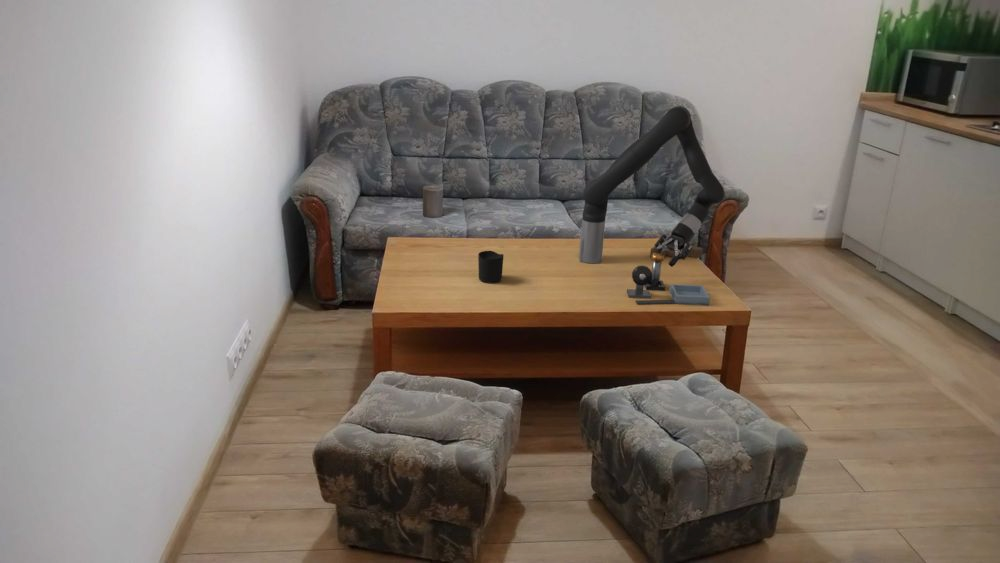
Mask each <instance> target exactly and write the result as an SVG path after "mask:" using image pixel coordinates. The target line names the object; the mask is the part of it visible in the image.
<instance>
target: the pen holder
mask: <svg viewBox="0 0 1000 563" xmlns="http://www.w3.org/2000/svg"><path fill="white" fill-rule="evenodd" d="M504 255H505V254H504V253H503V254H502V253H497V252H496V251H493V250H483V251H480V252H478V255H477V256H478V261H477V262H478V280H479V281H481V282H482V283H487V284H497V283H500V282H501V281H502V279H503V278H502V277H503V269H504V268H503V264H504Z"/></svg>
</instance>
